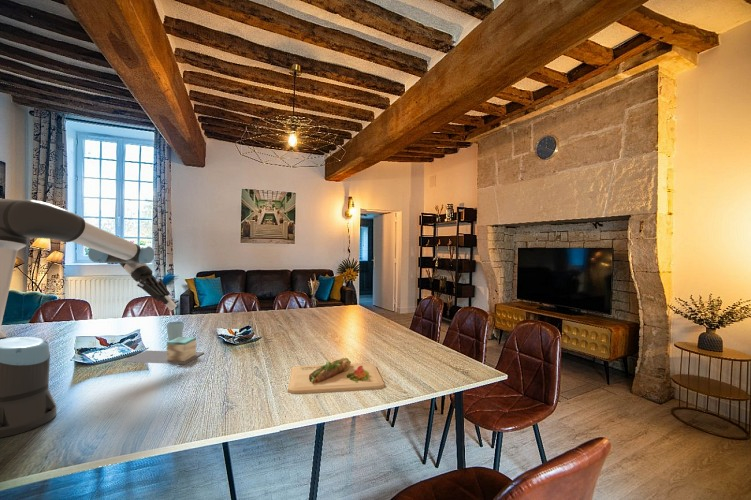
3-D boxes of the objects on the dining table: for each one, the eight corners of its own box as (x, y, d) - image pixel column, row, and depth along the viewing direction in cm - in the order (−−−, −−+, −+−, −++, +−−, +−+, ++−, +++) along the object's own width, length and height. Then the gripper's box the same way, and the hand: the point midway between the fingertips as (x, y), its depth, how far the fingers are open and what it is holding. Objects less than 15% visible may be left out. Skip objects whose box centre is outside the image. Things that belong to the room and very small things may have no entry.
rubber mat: (204, 353, 150) (204, 352, 150) (183, 365, 135) (184, 363, 135) (146, 351, 151) (146, 350, 151) (120, 362, 136) (120, 361, 136)
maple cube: (179, 336, 147) (178, 354, 147) (167, 342, 139) (166, 360, 139) (195, 337, 147) (195, 354, 147) (185, 342, 139) (184, 360, 139)
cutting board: (373, 366, 140) (374, 349, 140) (384, 390, 117) (385, 369, 117) (292, 370, 134) (292, 352, 134) (287, 395, 111) (287, 374, 111)
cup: (163, 345, 161) (163, 324, 161) (170, 340, 169) (171, 321, 169) (179, 345, 162) (179, 324, 162) (186, 340, 170) (186, 321, 170)
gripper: (144, 275, 150) (177, 311, 150) (121, 277, 137) (157, 316, 137) (155, 264, 150) (188, 300, 150) (133, 265, 137) (169, 304, 136)
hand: (173, 308), depth 143 cm, fingers closed
